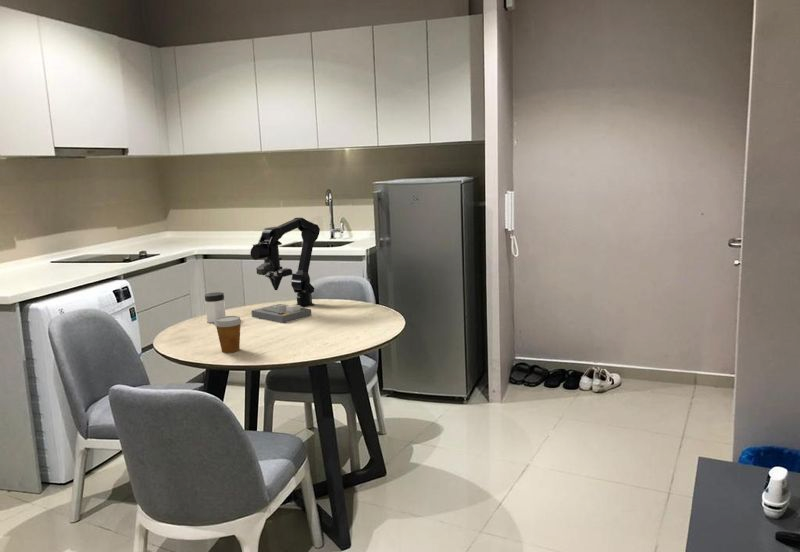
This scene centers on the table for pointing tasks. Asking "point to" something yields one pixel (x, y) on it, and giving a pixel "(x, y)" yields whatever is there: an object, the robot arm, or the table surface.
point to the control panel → (280, 314)
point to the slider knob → (280, 308)
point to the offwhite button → (293, 308)
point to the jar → (214, 306)
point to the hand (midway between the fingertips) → (276, 290)
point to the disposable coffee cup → (229, 333)
